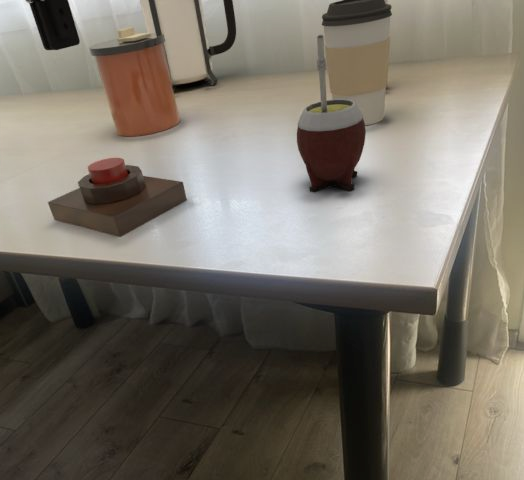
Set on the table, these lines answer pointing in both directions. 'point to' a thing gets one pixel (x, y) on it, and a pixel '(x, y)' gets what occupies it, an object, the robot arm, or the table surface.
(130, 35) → the slider
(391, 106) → the table surface
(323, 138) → the mate gourd
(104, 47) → the tumbler
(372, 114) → the coffee cup
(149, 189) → the button base
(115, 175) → the button
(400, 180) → the table surface
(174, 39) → the coffee press
